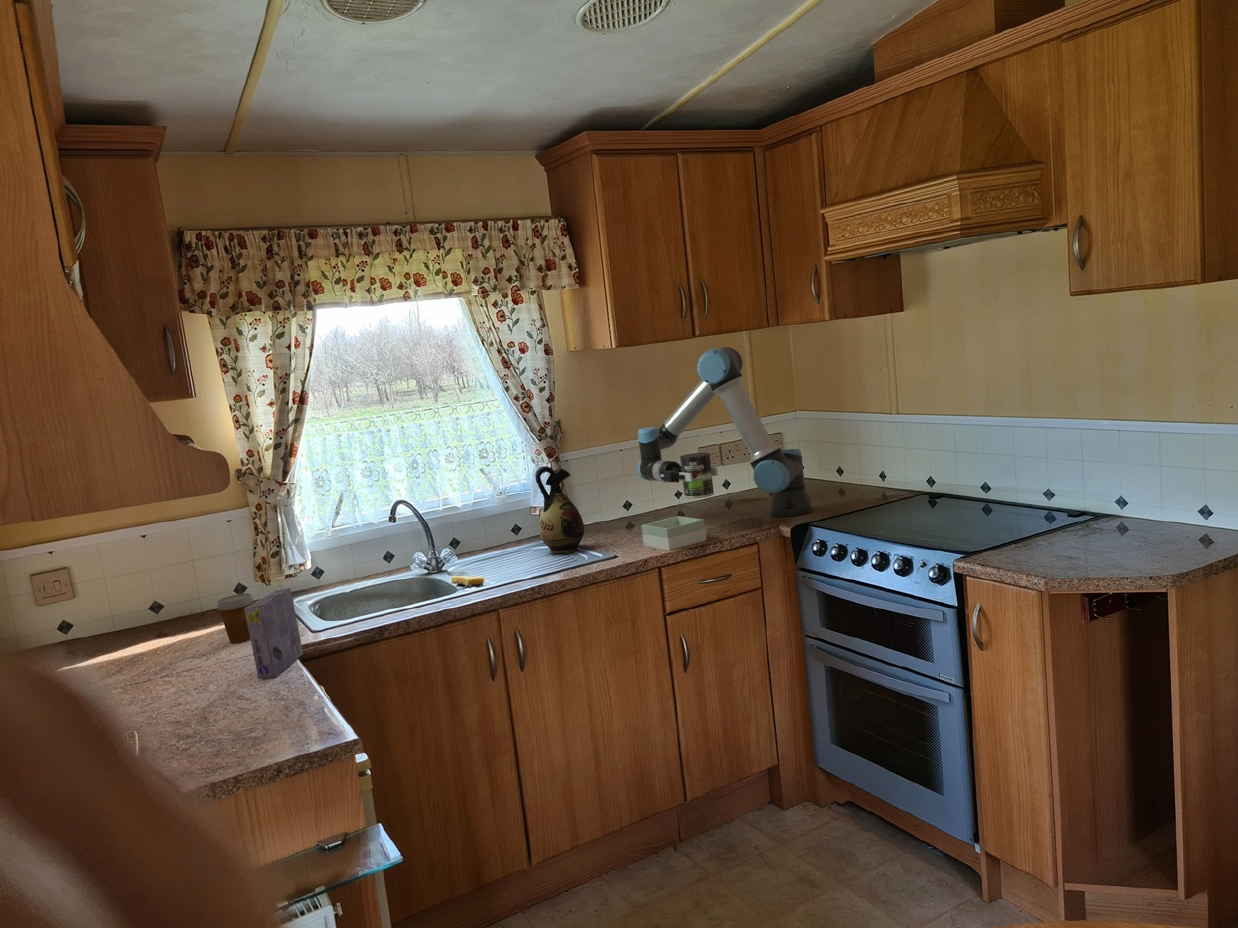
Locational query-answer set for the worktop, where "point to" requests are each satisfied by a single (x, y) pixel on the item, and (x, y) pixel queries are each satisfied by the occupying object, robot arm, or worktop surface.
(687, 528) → the open rectangular storage box
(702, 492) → the coffee can
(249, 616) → the cake pan box
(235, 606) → the disposable coffee cup
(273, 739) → the worktop surface
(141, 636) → the worktop surface
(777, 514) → the robot arm
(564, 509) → the ceramic jug
